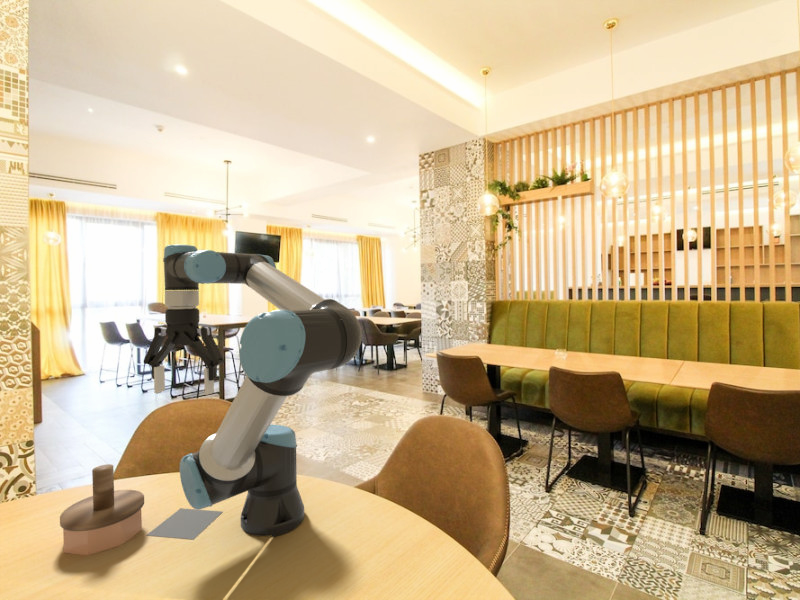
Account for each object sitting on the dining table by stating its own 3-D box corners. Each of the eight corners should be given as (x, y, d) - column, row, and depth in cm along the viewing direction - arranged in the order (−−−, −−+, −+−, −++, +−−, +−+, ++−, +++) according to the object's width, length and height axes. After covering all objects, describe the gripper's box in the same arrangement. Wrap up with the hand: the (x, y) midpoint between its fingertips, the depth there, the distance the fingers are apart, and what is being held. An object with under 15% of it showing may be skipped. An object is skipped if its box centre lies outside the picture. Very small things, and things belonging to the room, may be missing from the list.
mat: (223, 513, 107) (223, 511, 107) (193, 542, 95) (193, 539, 95) (180, 510, 109) (180, 508, 109) (146, 537, 97) (146, 535, 97)
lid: (159, 496, 104) (158, 456, 104) (105, 533, 88) (104, 486, 88) (103, 492, 106) (101, 452, 106) (40, 528, 91) (38, 481, 90)
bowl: (154, 522, 103) (154, 498, 103) (105, 559, 89) (104, 531, 89) (103, 517, 106) (102, 494, 105) (47, 553, 91) (46, 526, 91)
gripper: (237, 307, 106) (238, 390, 106) (148, 307, 109) (150, 387, 110) (220, 308, 98) (222, 398, 99) (125, 308, 102) (127, 395, 103)
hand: (184, 392), depth 104 cm, fingers open, 13 cm apart
